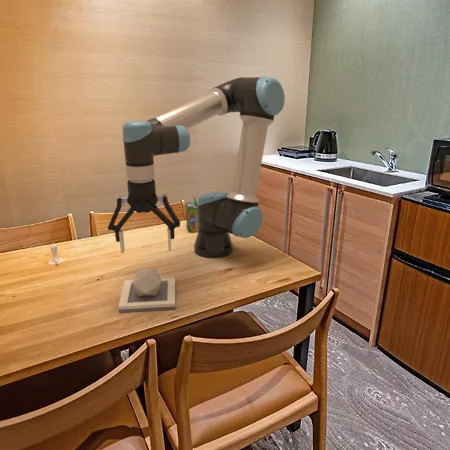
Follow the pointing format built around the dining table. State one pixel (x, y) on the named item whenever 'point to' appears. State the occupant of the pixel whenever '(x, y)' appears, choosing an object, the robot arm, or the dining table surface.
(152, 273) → the die
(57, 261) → the toy figurine
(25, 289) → the dining table surface
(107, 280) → the dining table surface
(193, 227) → the chalk box
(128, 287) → the pocket plate
